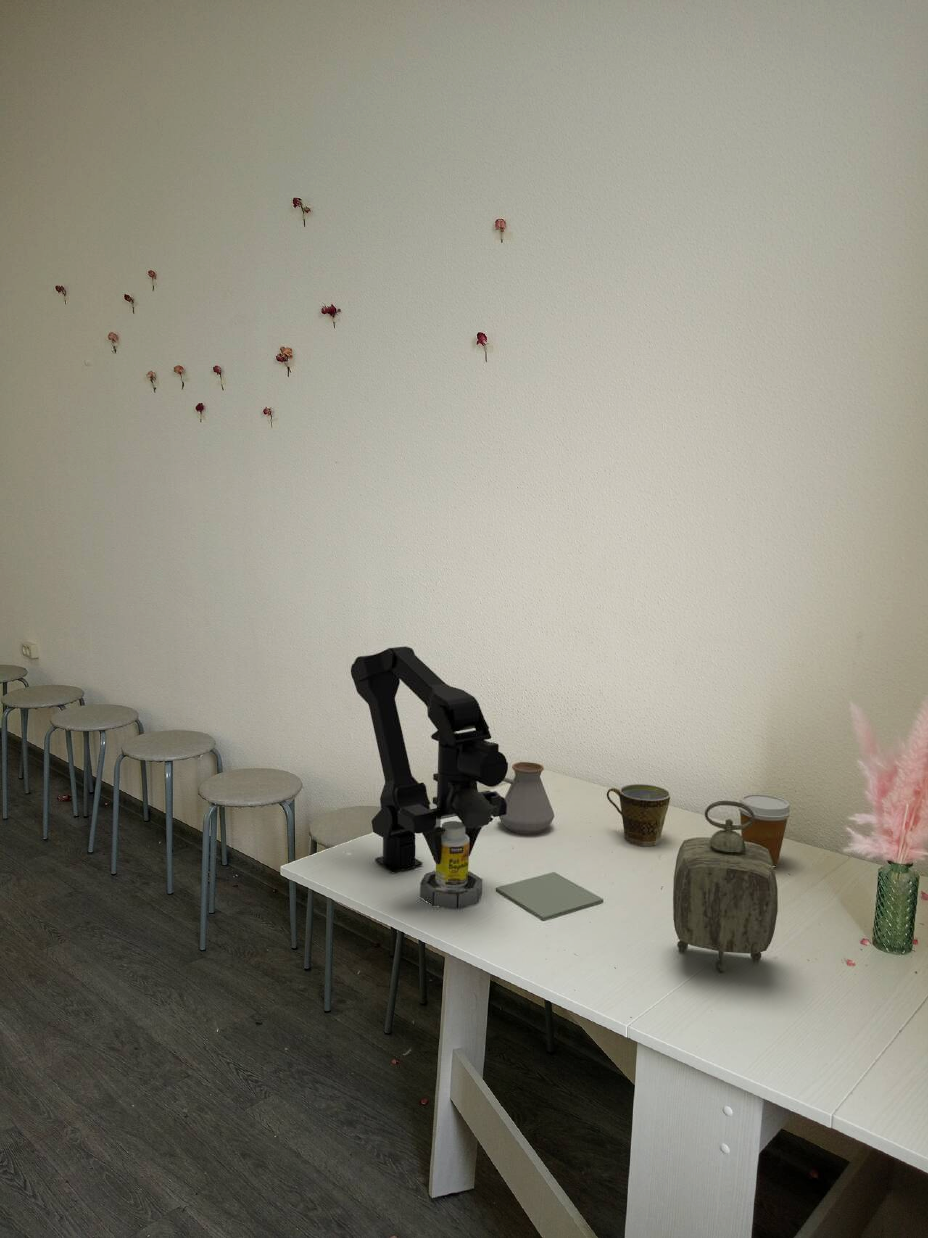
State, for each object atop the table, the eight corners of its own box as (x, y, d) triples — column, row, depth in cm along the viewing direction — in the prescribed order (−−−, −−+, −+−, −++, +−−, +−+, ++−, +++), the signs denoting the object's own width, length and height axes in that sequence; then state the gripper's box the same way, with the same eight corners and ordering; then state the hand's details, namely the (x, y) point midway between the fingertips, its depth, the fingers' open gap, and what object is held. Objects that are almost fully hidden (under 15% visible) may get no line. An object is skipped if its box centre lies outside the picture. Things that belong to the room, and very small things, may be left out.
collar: (410, 890, 161) (411, 877, 161) (459, 878, 166) (459, 865, 166) (442, 913, 153) (442, 899, 152) (492, 899, 158) (492, 885, 158)
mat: (495, 891, 162) (495, 887, 162) (553, 875, 169) (554, 872, 169) (543, 920, 151) (543, 917, 151) (603, 902, 158) (603, 899, 158)
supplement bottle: (446, 892, 155) (448, 833, 154) (429, 880, 160) (430, 822, 159) (474, 885, 158) (476, 827, 157) (456, 873, 163) (458, 817, 162)
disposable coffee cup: (731, 867, 175) (735, 805, 173) (736, 849, 184) (741, 790, 182) (784, 876, 171) (790, 813, 170) (788, 858, 180) (793, 797, 178)
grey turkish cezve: (537, 815, 200) (540, 746, 198) (563, 833, 189) (567, 761, 187) (444, 826, 192) (446, 755, 189) (466, 847, 181) (468, 771, 179)
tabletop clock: (767, 957, 141) (780, 797, 138) (773, 987, 133) (786, 818, 129) (669, 944, 145) (679, 787, 141) (668, 973, 136) (678, 807, 132)
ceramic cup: (674, 838, 189) (677, 790, 187) (656, 854, 180) (659, 803, 179) (614, 824, 195) (617, 778, 194) (594, 838, 187) (596, 790, 186)
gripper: (433, 793, 145) (431, 889, 147) (528, 775, 155) (525, 865, 157) (396, 774, 154) (395, 864, 156) (489, 758, 164) (486, 843, 166)
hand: (452, 859), depth 159 cm, fingers closed on supplement bottle, 6 cm apart
